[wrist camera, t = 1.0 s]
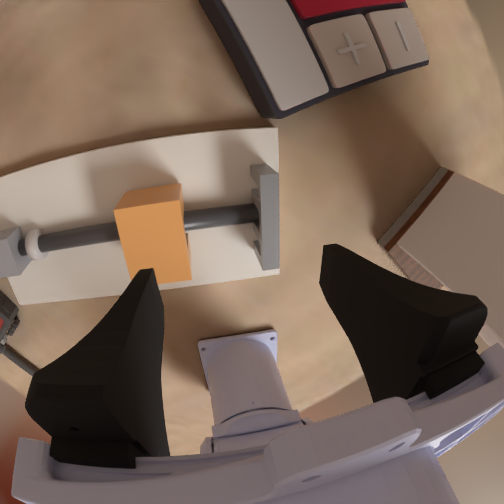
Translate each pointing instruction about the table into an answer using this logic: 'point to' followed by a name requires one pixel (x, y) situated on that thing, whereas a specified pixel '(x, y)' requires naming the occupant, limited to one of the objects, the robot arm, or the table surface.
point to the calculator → (314, 47)
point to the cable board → (132, 178)
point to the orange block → (155, 232)
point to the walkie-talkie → (10, 331)
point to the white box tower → (455, 243)
